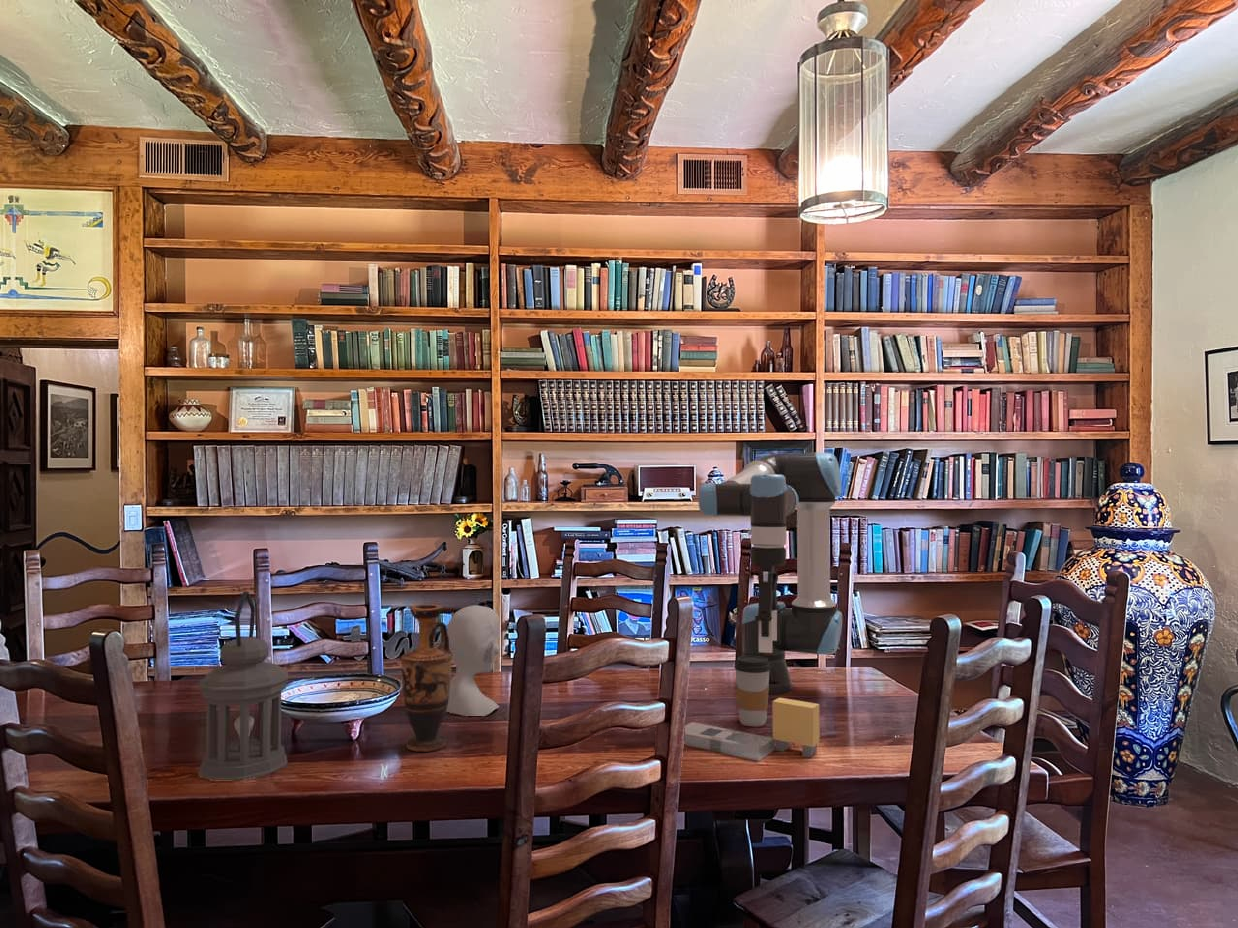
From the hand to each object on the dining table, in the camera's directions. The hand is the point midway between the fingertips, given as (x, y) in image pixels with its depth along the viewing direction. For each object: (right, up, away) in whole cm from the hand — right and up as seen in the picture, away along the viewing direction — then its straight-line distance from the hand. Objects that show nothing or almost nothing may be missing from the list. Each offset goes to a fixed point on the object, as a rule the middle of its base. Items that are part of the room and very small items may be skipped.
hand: (768, 646), depth 171 cm
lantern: (-107, -22, -10) cm, 110 cm away
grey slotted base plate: (-9, -22, +2) cm, 24 cm away
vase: (-73, -22, +2) cm, 77 cm away
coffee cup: (0, -23, +18) cm, 29 cm away
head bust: (-69, -23, +34) cm, 81 cm away
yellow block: (+6, -22, -1) cm, 23 cm away
